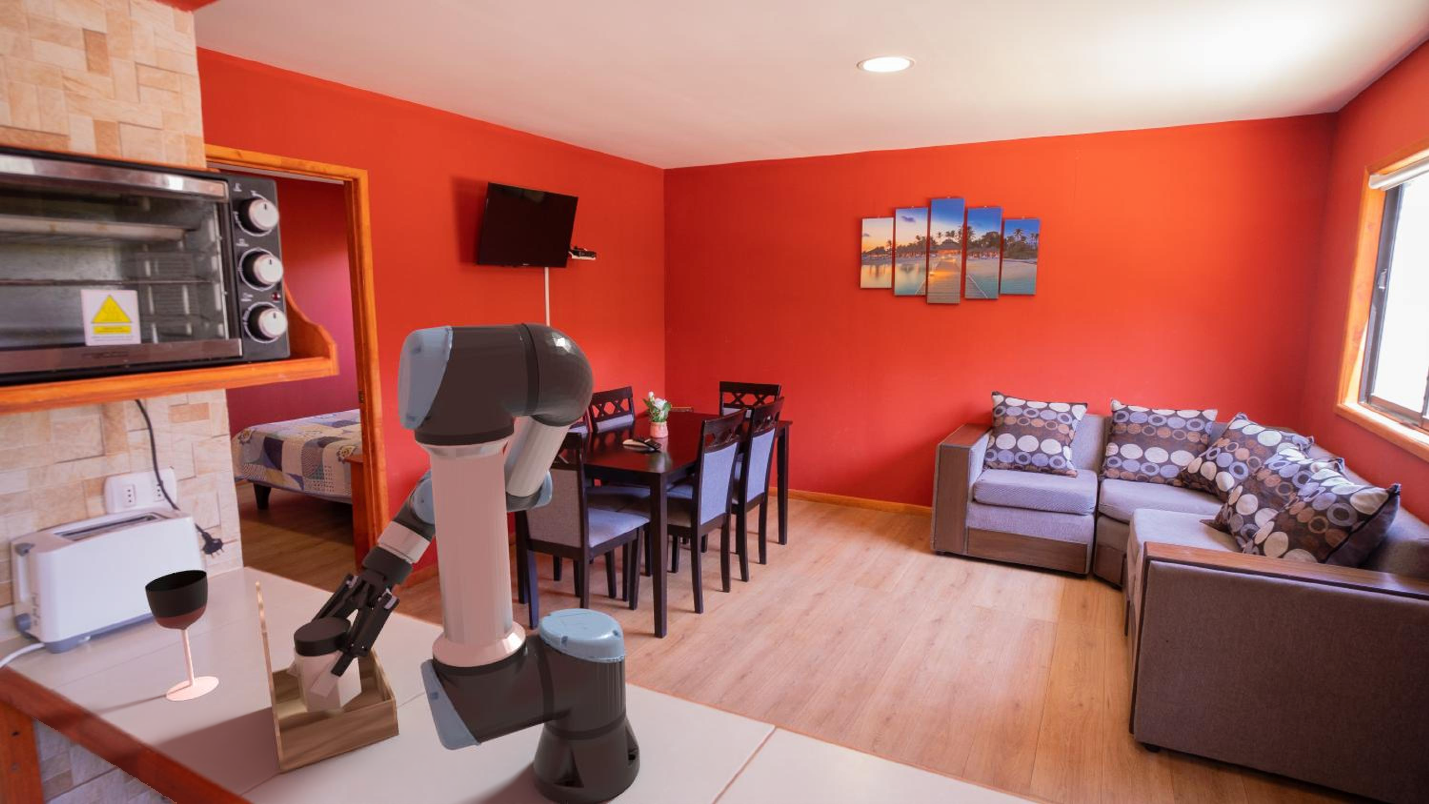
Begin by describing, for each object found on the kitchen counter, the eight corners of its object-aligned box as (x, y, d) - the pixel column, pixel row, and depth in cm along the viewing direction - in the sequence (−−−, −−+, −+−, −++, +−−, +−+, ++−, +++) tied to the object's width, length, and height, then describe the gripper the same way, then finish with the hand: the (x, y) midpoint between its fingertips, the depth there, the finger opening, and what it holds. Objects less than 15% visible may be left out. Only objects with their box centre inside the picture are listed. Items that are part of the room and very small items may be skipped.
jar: (367, 698, 118) (359, 629, 115) (312, 720, 112) (302, 648, 110) (349, 676, 124) (341, 610, 122) (295, 696, 119) (286, 627, 116)
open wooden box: (399, 734, 115) (386, 602, 110) (280, 773, 106) (262, 632, 102) (375, 676, 131) (364, 559, 127) (271, 706, 122) (255, 582, 118)
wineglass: (233, 678, 130) (218, 572, 127) (185, 706, 122) (167, 594, 118) (199, 671, 133) (184, 567, 129) (150, 698, 125) (132, 588, 121)
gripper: (444, 579, 120) (356, 715, 111) (381, 550, 133) (296, 670, 123) (412, 559, 115) (316, 700, 106) (348, 530, 128) (258, 654, 118)
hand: (306, 684), depth 115 cm, fingers closed on jar, 8 cm apart
